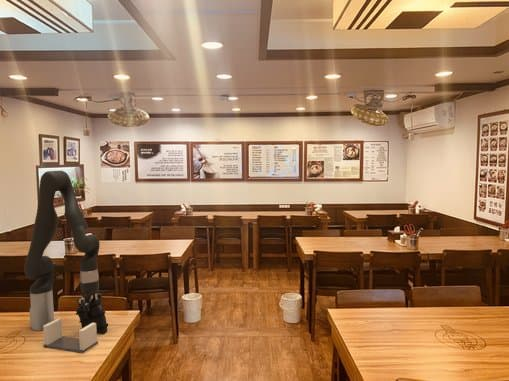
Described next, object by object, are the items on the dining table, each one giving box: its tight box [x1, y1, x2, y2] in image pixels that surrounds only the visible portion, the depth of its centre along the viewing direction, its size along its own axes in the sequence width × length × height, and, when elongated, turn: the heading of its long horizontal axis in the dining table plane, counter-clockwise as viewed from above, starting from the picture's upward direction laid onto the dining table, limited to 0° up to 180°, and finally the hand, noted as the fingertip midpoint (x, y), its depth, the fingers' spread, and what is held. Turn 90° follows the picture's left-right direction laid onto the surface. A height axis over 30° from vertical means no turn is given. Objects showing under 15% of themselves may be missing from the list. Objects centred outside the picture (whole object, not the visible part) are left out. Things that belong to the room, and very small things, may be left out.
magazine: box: [75, 298, 109, 335], centre depth 176 cm, size 4×13×15 cm, turn 82°
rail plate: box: [42, 335, 99, 354], centre depth 164 cm, size 20×9×1 cm, turn 73°
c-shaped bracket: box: [42, 318, 98, 350], centre depth 164 cm, size 20×8×8 cm, turn 73°
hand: (91, 316), depth 176 cm, fingers closed on magazine, 4 cm apart
